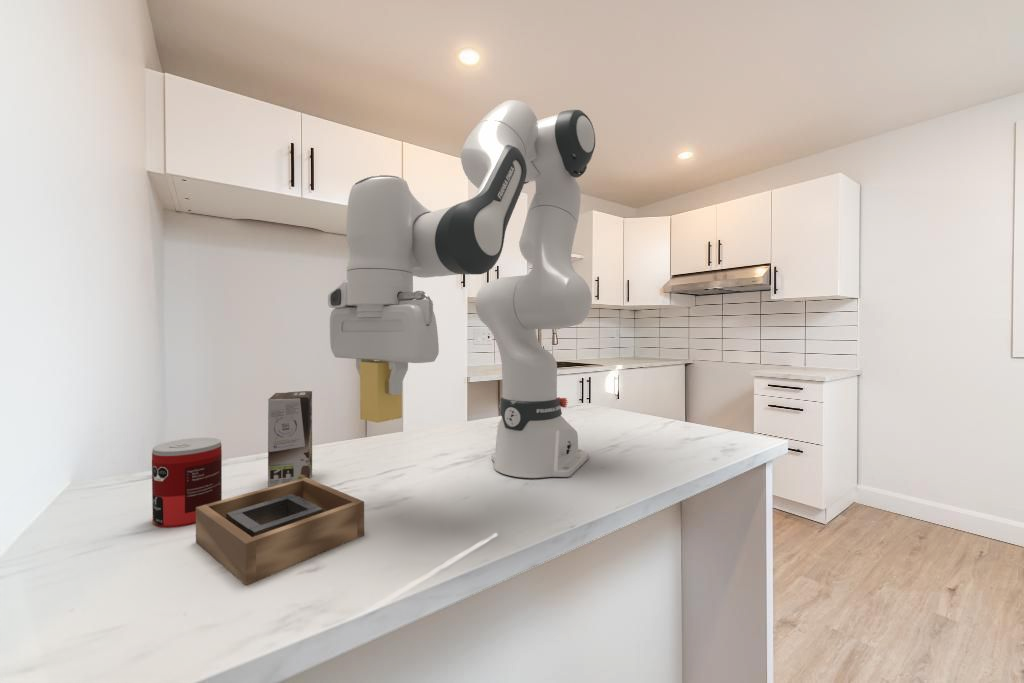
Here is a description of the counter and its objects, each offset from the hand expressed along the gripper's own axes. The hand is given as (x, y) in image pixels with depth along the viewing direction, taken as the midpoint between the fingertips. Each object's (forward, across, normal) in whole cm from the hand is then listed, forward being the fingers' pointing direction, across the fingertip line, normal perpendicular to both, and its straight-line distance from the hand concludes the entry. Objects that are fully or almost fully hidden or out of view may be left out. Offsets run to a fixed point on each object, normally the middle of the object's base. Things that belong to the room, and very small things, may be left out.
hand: (381, 392), depth 59 cm
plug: (+4, 0, 0) cm, 4 cm away
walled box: (+19, +6, +11) cm, 22 cm away
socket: (+18, +5, +12) cm, 22 cm away
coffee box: (+19, +26, 0) cm, 32 cm away
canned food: (+19, +23, +16) cm, 34 cm away
